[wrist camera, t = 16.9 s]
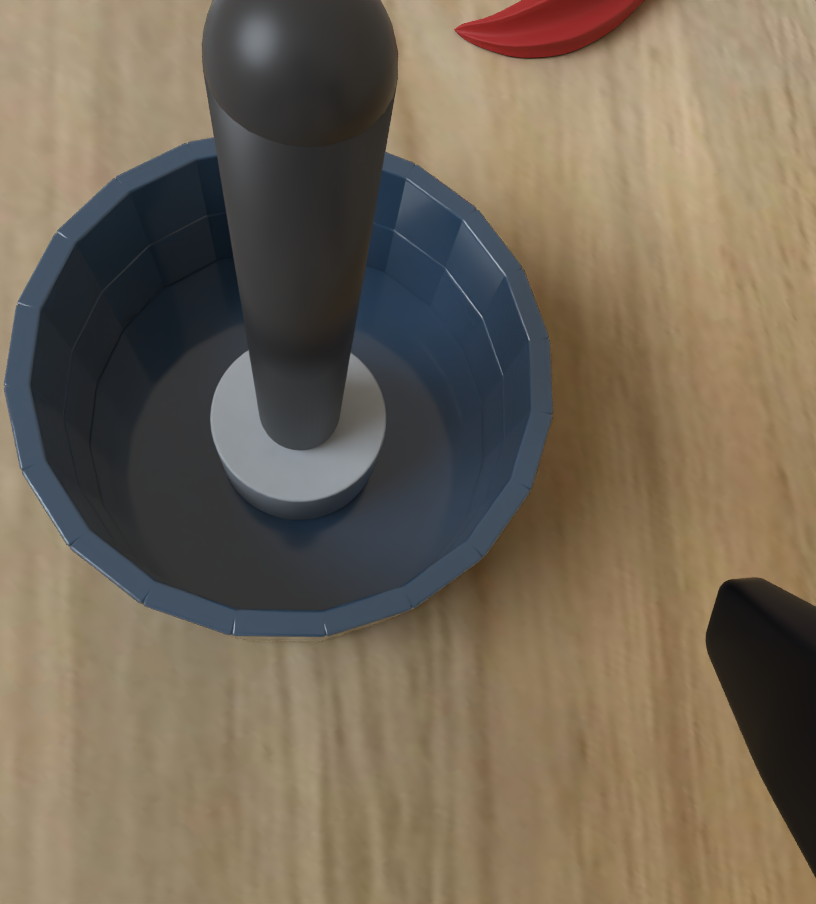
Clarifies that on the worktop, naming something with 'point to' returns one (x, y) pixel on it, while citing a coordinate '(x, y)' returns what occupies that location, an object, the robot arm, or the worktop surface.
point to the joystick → (299, 240)
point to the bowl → (210, 355)
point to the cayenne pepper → (547, 26)
